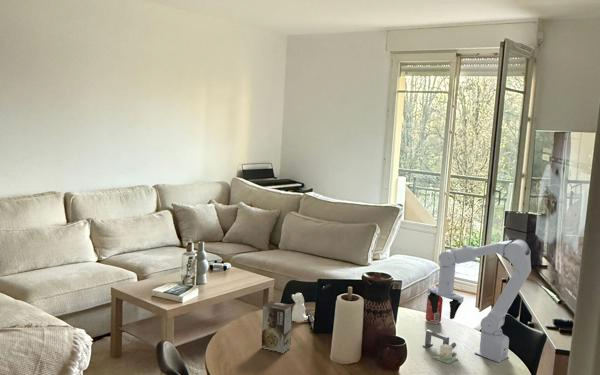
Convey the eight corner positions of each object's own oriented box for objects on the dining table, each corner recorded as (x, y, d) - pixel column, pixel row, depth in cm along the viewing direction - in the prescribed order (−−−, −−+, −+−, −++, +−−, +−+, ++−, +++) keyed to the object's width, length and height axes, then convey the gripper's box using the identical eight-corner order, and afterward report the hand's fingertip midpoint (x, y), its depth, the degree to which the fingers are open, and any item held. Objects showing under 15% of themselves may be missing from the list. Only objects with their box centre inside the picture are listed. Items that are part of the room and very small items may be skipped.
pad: (457, 359, 197) (457, 358, 197) (448, 364, 193) (448, 363, 193) (442, 354, 201) (442, 353, 201) (433, 358, 197) (433, 357, 197)
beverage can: (439, 320, 237) (441, 293, 236) (441, 325, 231) (444, 297, 229) (424, 318, 238) (426, 291, 236) (426, 324, 231) (428, 296, 230)
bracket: (450, 351, 204) (451, 336, 203) (443, 354, 201) (444, 338, 200) (429, 343, 210) (430, 328, 210) (422, 346, 207) (423, 331, 206)
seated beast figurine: (315, 321, 227) (316, 293, 225) (300, 326, 221) (302, 297, 219) (298, 315, 233) (300, 288, 232) (284, 320, 227) (285, 291, 226)
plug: (459, 351, 204) (460, 340, 203) (448, 362, 194) (449, 351, 193) (448, 347, 206) (449, 337, 206) (436, 358, 196) (437, 348, 195)
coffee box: (291, 348, 199) (293, 304, 197) (283, 354, 193) (285, 310, 192) (268, 342, 203) (271, 300, 201) (260, 348, 197) (262, 305, 195)
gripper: (468, 284, 208) (465, 318, 209) (435, 275, 218) (432, 308, 220) (459, 287, 203) (455, 322, 205) (425, 277, 213) (422, 311, 215)
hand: (443, 315), depth 212 cm, fingers open, 7 cm apart
